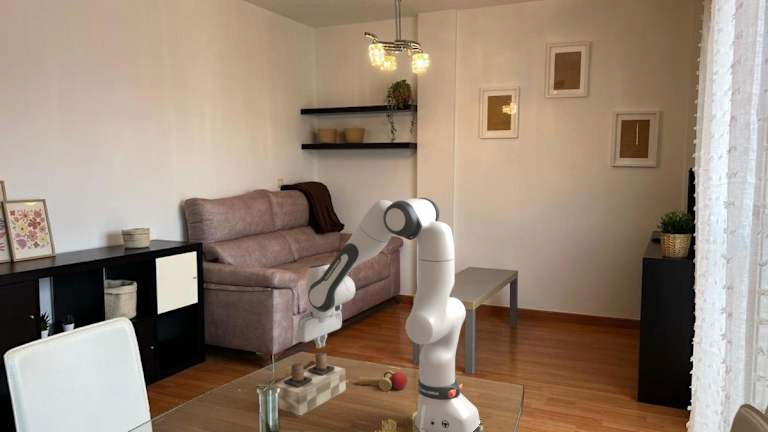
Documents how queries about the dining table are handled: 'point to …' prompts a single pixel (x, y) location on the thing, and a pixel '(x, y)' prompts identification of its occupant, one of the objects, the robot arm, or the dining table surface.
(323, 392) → the collar block
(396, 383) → the kendama
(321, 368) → the peg right
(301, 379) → the peg left
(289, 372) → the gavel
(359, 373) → the dining table surface
